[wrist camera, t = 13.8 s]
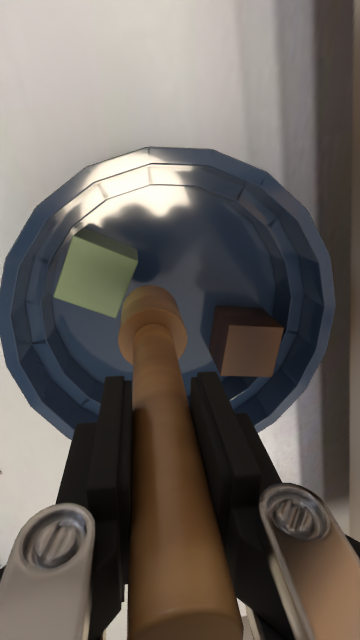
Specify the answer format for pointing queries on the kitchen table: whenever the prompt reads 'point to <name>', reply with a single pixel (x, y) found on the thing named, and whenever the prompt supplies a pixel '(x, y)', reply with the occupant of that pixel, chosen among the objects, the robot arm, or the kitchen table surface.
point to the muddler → (170, 490)
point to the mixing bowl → (167, 278)
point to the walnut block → (244, 341)
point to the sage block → (96, 273)
